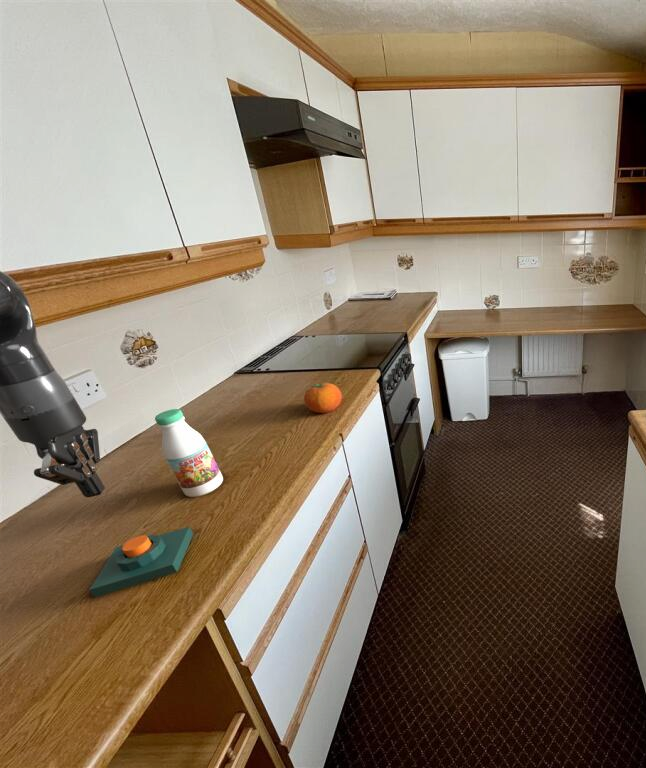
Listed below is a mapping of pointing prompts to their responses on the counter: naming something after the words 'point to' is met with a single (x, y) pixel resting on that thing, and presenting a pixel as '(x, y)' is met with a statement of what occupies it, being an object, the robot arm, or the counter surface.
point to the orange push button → (136, 546)
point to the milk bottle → (188, 455)
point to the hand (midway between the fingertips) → (96, 493)
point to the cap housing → (143, 563)
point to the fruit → (322, 398)
